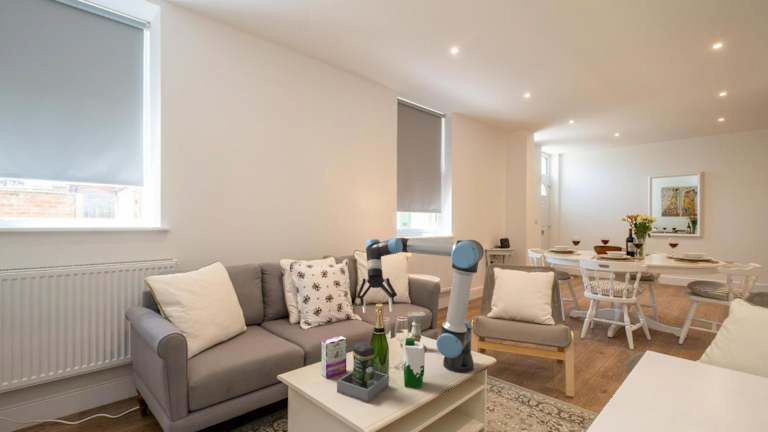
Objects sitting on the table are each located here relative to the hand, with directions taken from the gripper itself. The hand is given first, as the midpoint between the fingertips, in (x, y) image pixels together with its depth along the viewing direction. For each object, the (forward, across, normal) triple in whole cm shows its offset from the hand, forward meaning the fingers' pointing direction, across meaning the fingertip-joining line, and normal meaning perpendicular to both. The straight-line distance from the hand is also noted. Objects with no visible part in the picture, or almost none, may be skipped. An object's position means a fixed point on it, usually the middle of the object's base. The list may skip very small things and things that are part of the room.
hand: (378, 312), depth 180 cm
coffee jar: (+32, +11, +5) cm, 35 cm away
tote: (+33, +11, +5) cm, 35 cm away
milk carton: (+33, -12, +6) cm, 36 cm away
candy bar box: (+26, +21, -11) cm, 35 cm away
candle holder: (+17, -28, -29) cm, 44 cm away
